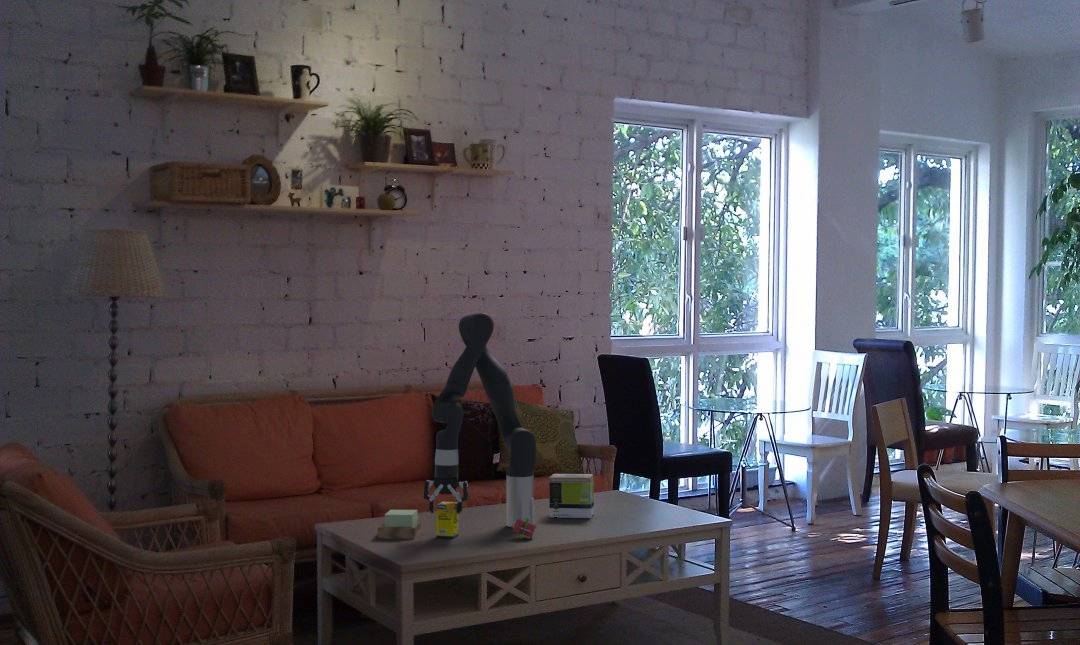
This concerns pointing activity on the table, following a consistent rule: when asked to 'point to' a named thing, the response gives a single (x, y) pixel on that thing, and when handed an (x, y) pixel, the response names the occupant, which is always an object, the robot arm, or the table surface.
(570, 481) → the tea box
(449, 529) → the supplement box
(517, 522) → the geometric puzzle
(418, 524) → the walnut base slab
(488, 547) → the table surface
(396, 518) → the sage top slab
